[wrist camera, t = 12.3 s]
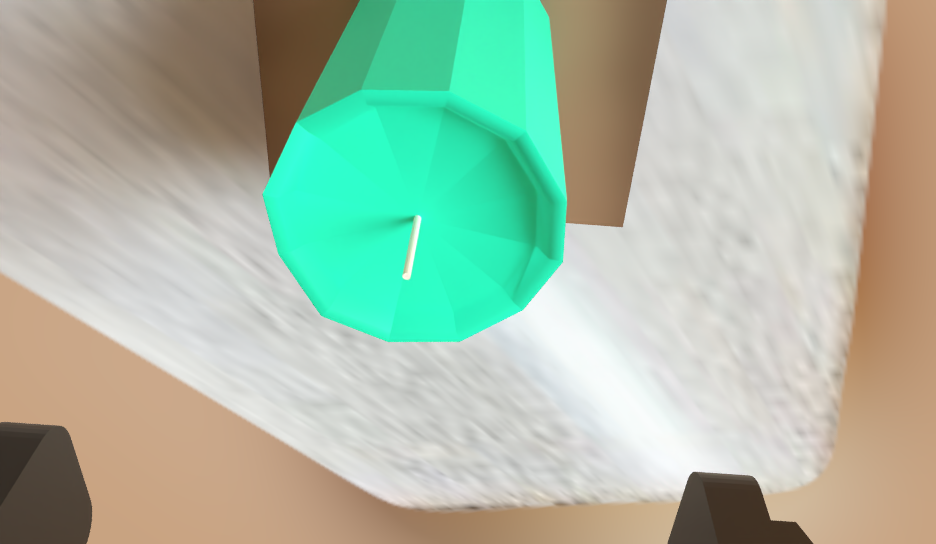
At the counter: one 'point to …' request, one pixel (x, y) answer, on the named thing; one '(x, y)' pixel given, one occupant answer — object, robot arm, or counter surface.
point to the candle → (426, 170)
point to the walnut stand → (576, 75)
